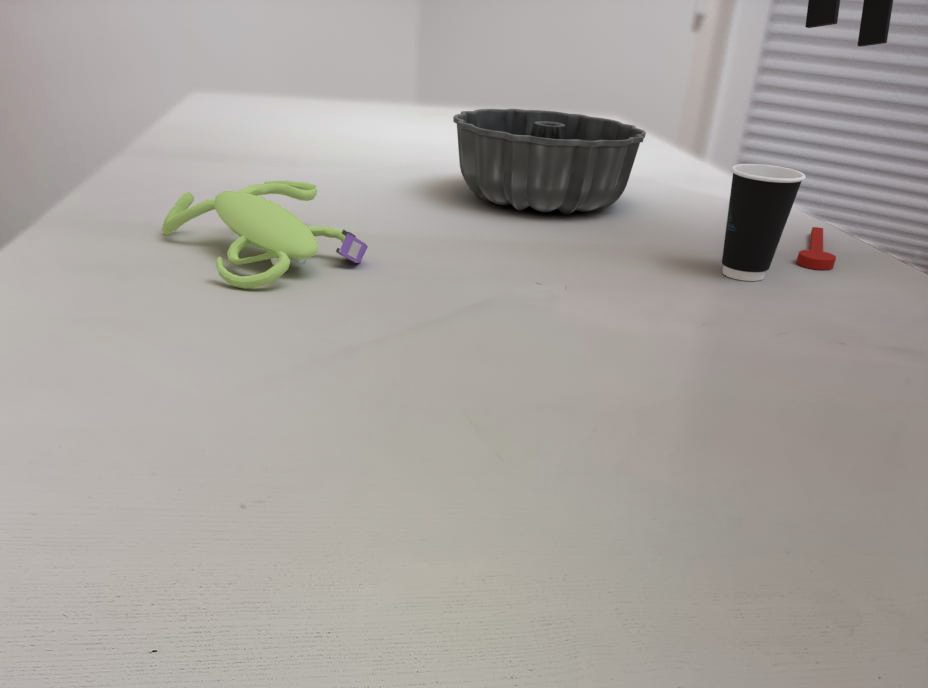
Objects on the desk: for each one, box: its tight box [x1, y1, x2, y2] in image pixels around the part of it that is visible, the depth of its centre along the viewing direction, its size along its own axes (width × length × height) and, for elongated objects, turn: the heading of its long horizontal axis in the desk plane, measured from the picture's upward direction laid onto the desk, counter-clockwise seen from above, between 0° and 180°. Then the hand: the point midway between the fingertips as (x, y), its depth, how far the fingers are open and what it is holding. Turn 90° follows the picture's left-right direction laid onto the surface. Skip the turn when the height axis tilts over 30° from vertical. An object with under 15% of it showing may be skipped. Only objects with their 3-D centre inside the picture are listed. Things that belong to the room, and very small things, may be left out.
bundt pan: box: [452, 108, 647, 215], centre depth 128 cm, size 26×26×10 cm
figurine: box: [161, 180, 369, 290], centre depth 101 cm, size 18×27×6 cm
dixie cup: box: [721, 163, 806, 282], centre depth 103 cm, size 8×8×11 cm
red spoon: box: [796, 226, 837, 271], centre depth 117 cm, size 4×18×1 cm, turn 162°
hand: (847, 36), depth 90 cm, fingers open, 13 cm apart
